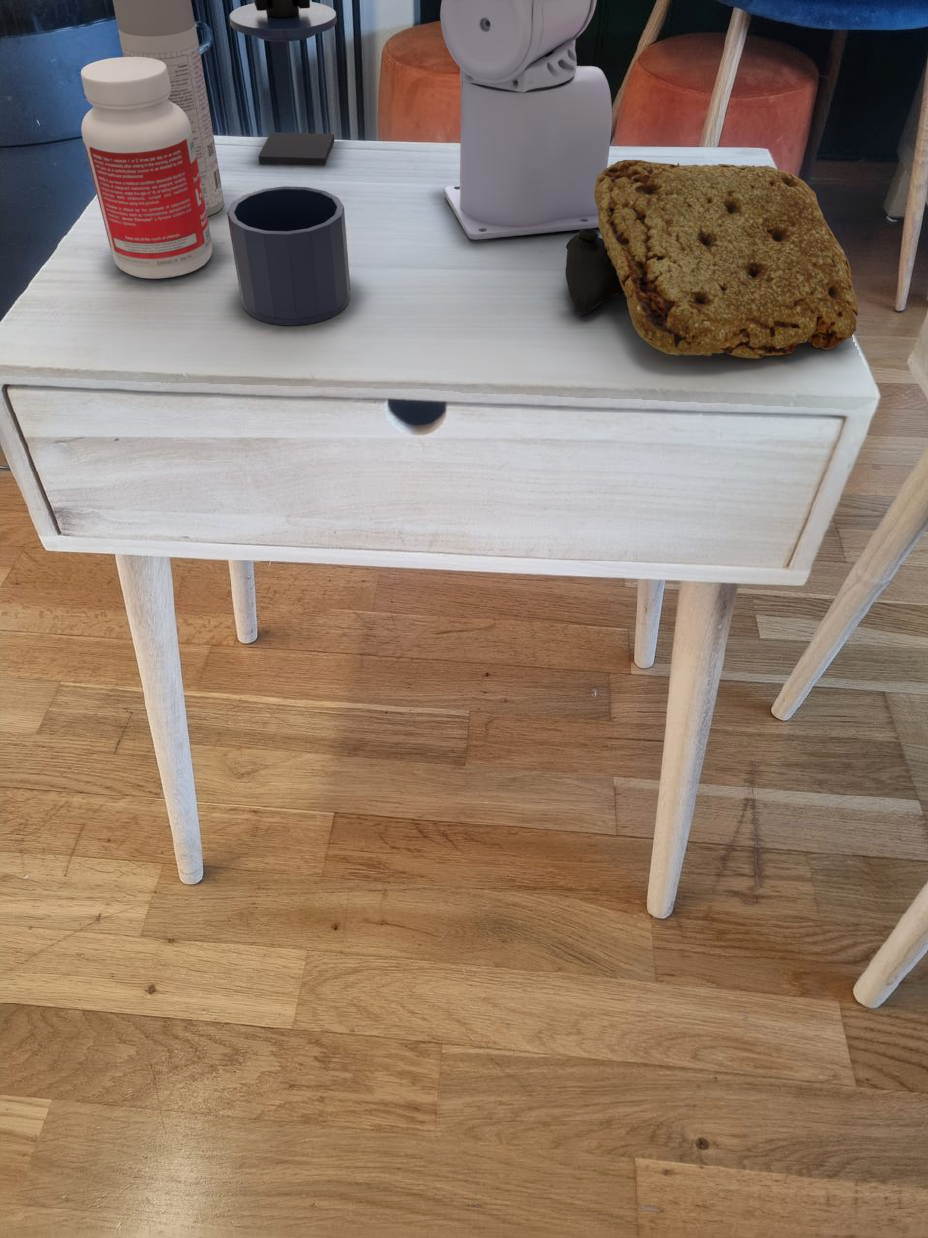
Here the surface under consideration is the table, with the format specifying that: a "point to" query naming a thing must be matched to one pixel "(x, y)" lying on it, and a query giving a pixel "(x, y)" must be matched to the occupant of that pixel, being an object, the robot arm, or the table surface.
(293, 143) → the coaster
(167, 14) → the container
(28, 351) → the table surface
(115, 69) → the pill bottle
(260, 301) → the tin
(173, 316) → the table surface
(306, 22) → the lid
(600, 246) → the gaming controller
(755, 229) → the pastry
